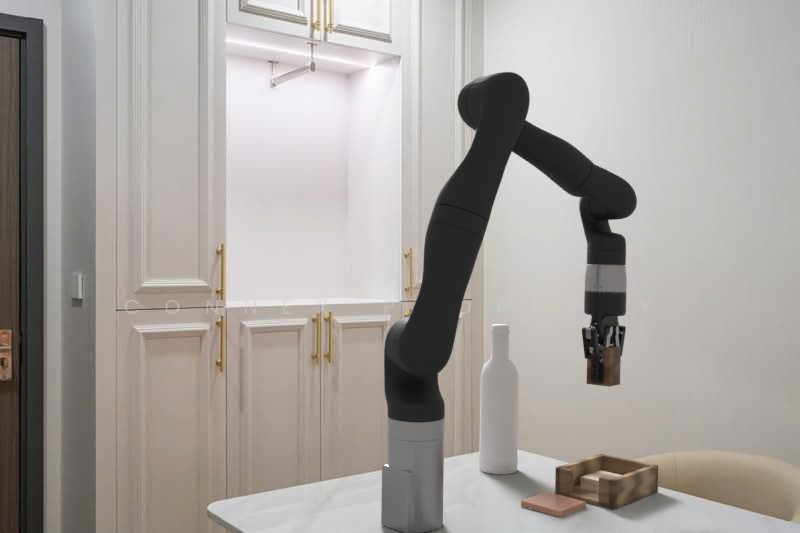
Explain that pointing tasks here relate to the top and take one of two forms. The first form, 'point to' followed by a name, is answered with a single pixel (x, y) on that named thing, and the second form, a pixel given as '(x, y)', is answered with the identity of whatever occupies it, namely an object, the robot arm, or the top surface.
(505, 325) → the bottle
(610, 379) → the walnut block
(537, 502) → the terracotta tile
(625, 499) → the oak box
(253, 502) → the top surface
